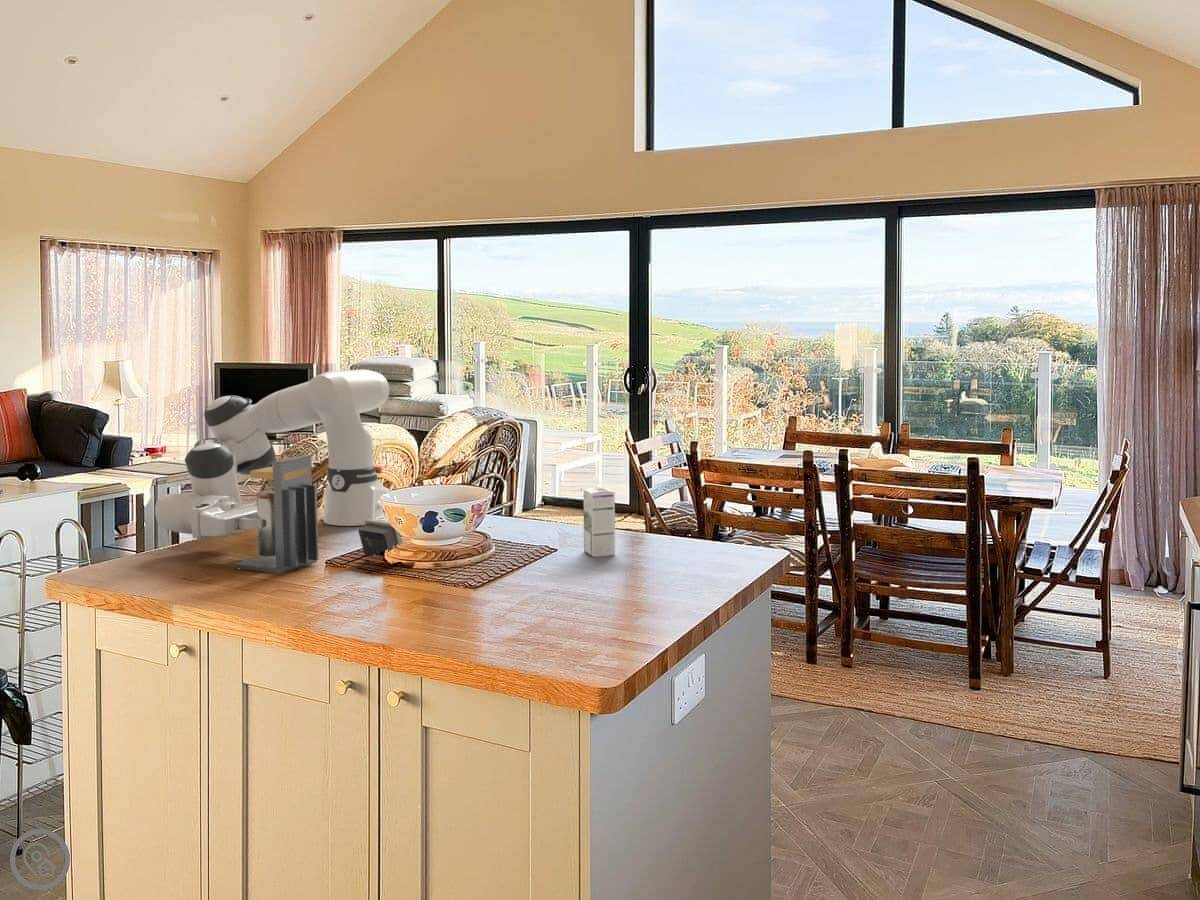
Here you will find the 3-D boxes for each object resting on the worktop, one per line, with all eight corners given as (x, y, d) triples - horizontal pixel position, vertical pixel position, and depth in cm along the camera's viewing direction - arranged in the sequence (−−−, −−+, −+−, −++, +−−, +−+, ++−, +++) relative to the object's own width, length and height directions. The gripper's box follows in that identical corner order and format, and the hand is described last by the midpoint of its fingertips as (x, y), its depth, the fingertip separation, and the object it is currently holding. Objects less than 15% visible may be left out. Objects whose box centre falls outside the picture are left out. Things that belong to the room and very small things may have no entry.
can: (269, 549, 217) (267, 490, 216) (289, 551, 216) (287, 491, 214) (253, 554, 213) (250, 493, 211) (273, 557, 211) (271, 495, 209)
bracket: (270, 556, 222) (267, 452, 219) (324, 561, 217) (321, 455, 214) (233, 568, 211) (229, 459, 208) (289, 574, 206) (285, 462, 203)
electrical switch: (407, 563, 217) (403, 521, 215) (390, 570, 212) (386, 527, 210) (376, 557, 222) (372, 516, 220) (358, 564, 217) (354, 523, 215)
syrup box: (615, 555, 224) (616, 491, 223) (590, 557, 222) (591, 492, 221) (607, 550, 230) (607, 487, 228) (582, 552, 228) (582, 488, 226)
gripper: (253, 521, 228) (304, 526, 223) (187, 539, 209) (241, 545, 204) (252, 494, 227) (303, 498, 222) (185, 509, 208) (240, 514, 203)
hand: (273, 521), depth 213 cm, fingers closed on can, 5 cm apart
